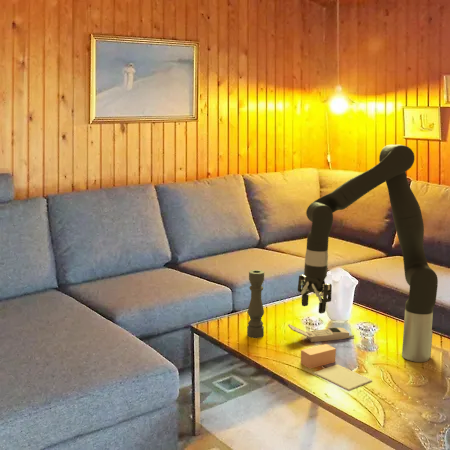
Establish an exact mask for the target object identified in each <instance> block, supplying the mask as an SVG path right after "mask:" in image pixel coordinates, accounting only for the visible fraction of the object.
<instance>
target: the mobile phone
mask: <svg viewBox="0 0 450 450" xmlns="http://www.w3.org/2000/svg"><path fill="white" fill-rule="evenodd" d="M287 326H288V327H289V328H290V330H292V331H293V332H296V333H297V334H299V335H303V336H305V337H306V338H307V339H308V340H309V341H310V342H311V343H315V342H316V343H317V342H326V341H327V342H328V341H337V340H338V341H339V339H341V340H344V339H350V338H354V337H355V335H353V334H352V335H351V334H350V332H349V331H348V330H347V329H346V328H344V327H328V328H325V329H324V328H323V329H318V330H317V329H316V330H307V331H305V330H302V329H300V328H298V327H297V326H294V325H291V324H288V325H287Z"/></svg>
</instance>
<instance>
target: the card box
mask: <svg viewBox="0 0 450 450" xmlns="http://www.w3.org/2000/svg"><path fill="white" fill-rule="evenodd" d="M336 352H337V348H336V347H334V346H332V345H329V344H328V343H325V344H322V345H321V344H320V345H316V346H311V347H308V348H304V349H301V350H300V364H301V365H303V366H305V367H307V368H308V369H313V368H314V369H315V368H317V367H321V366H325V365H329V364H333V363H336V355H337V353H336Z"/></svg>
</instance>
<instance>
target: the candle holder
mask: <svg viewBox="0 0 450 450" xmlns="http://www.w3.org/2000/svg"><path fill="white" fill-rule="evenodd" d="M248 281H249V283H250V286H249V290H250V292H251V293H250V301H249V304H248V309H247V314H248V316H249V321H248V322H247V325H248V326H246V327H247V328H246V329H247V332H246V333H247V334H246V335H247V337H248V338H250V339H251V338H252V339H261V338H263V337H264V333H265V331H264V329H265V327H264V321H262V319H263V318H262V317H263V316H264V314H265V310H264V306H263V300H262V291H263V290H264V287H263V286H262V285H263V283H264V281H265V271H264V270H262V269H252V270H251V269H250V270H249V271H248Z"/></svg>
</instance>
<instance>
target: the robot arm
mask: <svg viewBox="0 0 450 450" xmlns="http://www.w3.org/2000/svg"><path fill="white" fill-rule="evenodd" d="M378 159H379V161H378V164H376V165H375V166H373V167H371V168H370V169H368V170H366V171H365V172H362V173H360V174H358V175H356V176H354V177H352V178H350V179H349V180H347V181H345V182H344V183H342V184H341V185H339V186H338V187H337V188H336V189H334V190H332V192H329V193H328V194H324V195H323V196H321V197H319V198H318V199H316V200H314V201H312V202H311V203H310V204H309V206H307V208H306V210H305V211H306V212H305V215H306V218H307V219H308V221H310V222H311V229H310V231H309V232H308V233H307V237H306V250H305V256H304V267H303V268H304V269H303V274H299V276H298V282H297V284H298V285H297V293H300V295H301V306H302V307H307V306H309V294H310V292H311V293H314V294H315V296H316V297H317V298H318V301H319V302H318V313H319V314H325V312H326V311H327V303H331V302H332V292H333V291H332V288H333V287H332V286H333V285H332V284H331V283H326V281H325V279H326V278H327V275H328V266H329V265H328V264H329V263H328V262H329V254H328V253H329V237H330V233H331V230H332V226H333V221H334V213H335V212H337V211H342V210H343V211H344V210H345V209H348V207H349V206H351V205H352V204H354V203H355V202H357V201H358V200H359V199H361V198H362V197H364V196H365V195H367V194H368V193H370V192H371V191H373V190H374V189H376V188H377V187H379V186H380V185H382V184H383V183H385V185H386V187H387V192H388V197H389V203H390V207H391V214H392V217H393V223H394V226H395V231H396V235H397V239H398V243H399V245H400V249H401V252H402V258H403V269H404V278H405V282H406V283H407V285H408V286H409V291H408V299H407V300H406V301H405V306H404V320H403V321H404V322H403V333H402V334H403V336H402V349H401V350H402V351H401V356H402V358H403V359H405V360H407V361H410V362H415V363H423V362H428V361H429V360H430V358H431V357H432V356H431V355H432V345H433V344H432V343H433V334H434V333H433V330H432V328H433V316H434V307H435V305H436V303H437V294H438V283H439V280H438V275H437V273H436V272H435V271H434V270H433V269H432V268H431V267H430V265H429V264H428V260H427V257H426V254H425V253H426V252H425V250H424V239H425V238H424V237H425V235H424V234H425V230H424V229H425V226H424V225H425V224H424V219H423V214H422V210H421V206H420V204H419V202H418V200H417V198H416V195H415V193H414V192H413V190H412V188H411V187H410V183H409V181H408V176H407V171H409V170H410V169H411V168H412V166H413V165H414V162H415V153H414V151H413V150H412V149H411V147H409V146H407V145H403V144H387V145H385V146H384V147H382V149H381V151H380V153H379V158H378Z"/></svg>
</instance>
